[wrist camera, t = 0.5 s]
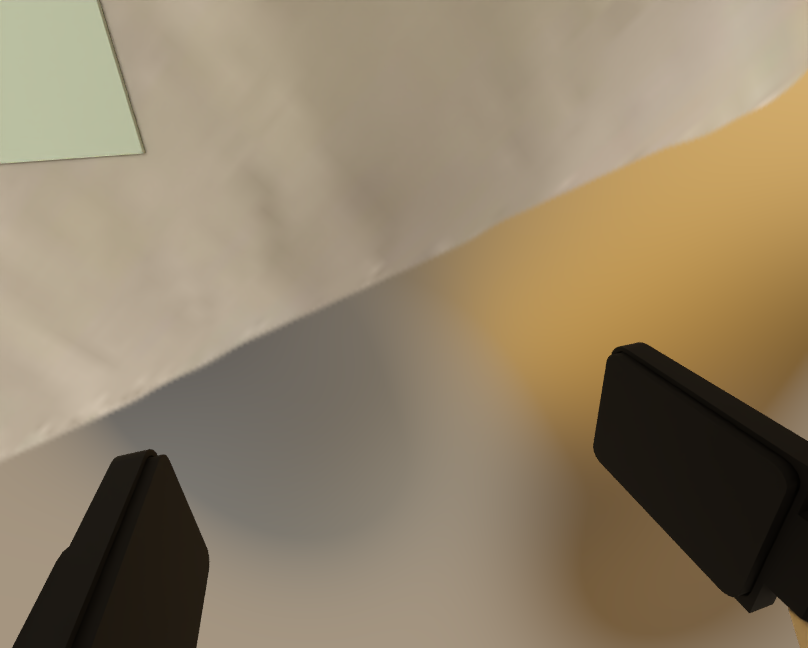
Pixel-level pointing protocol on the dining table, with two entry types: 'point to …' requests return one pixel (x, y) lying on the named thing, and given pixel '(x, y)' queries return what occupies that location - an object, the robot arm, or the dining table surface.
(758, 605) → the robot arm
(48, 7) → the pad
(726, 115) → the dining table surface
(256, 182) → the dining table surface
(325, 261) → the dining table surface
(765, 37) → the dining table surface
